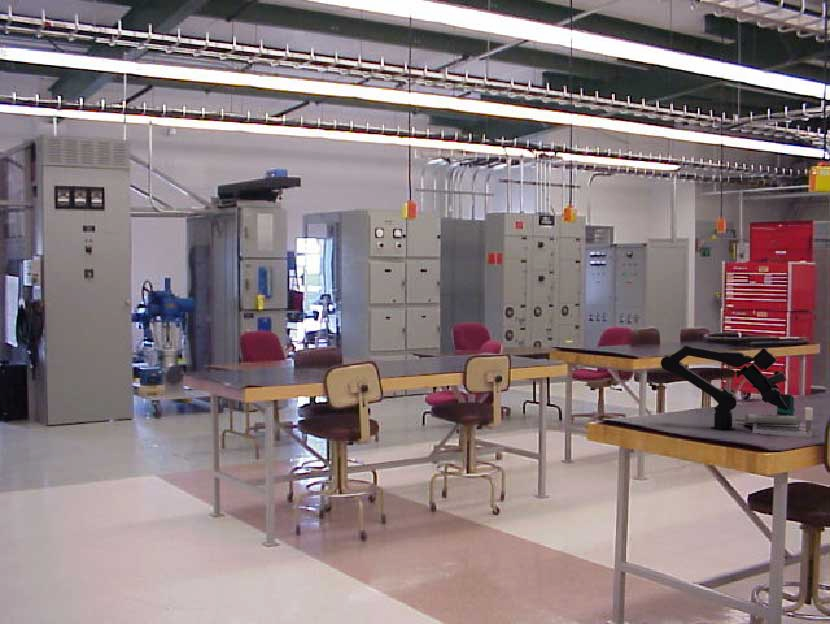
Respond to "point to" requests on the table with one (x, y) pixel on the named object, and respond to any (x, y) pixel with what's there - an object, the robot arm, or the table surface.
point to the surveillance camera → (789, 403)
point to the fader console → (782, 431)
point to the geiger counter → (769, 420)
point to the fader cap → (808, 417)
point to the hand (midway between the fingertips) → (787, 409)
